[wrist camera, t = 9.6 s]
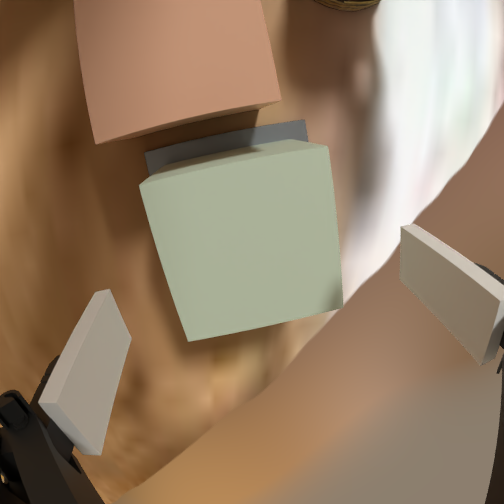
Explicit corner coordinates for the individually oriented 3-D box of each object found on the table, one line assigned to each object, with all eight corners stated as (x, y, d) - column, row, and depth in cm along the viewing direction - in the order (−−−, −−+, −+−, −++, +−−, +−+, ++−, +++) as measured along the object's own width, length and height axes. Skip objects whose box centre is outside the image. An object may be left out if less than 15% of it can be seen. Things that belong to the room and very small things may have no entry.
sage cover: (164, 165, 24) (138, 185, 16) (290, 139, 25) (327, 146, 16) (194, 279, 28) (188, 341, 20) (307, 254, 29) (343, 307, 20)
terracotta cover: (114, 27, 20) (72, -10, 11) (236, -2, 20) (246, -54, 12) (134, 137, 24) (95, 144, 15) (259, 109, 24) (281, 100, 16)
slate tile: (145, 152, 24) (144, 152, 24) (303, 119, 25) (304, 119, 24) (184, 293, 29) (183, 295, 29) (322, 263, 30) (324, 265, 29)
